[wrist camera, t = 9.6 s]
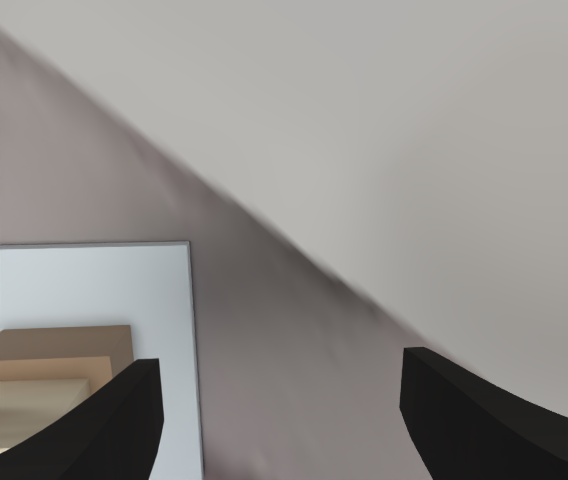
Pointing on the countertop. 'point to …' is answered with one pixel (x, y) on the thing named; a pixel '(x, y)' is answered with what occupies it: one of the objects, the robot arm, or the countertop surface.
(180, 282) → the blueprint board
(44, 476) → the robot arm
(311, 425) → the countertop surface
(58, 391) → the maple block
